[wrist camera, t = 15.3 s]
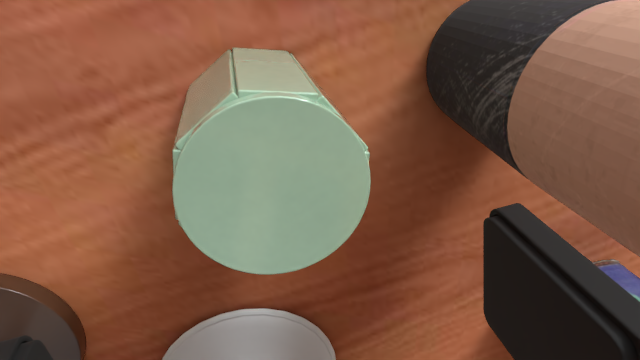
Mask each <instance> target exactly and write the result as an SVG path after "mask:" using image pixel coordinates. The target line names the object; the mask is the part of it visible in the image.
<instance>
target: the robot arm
mask: <svg viewBox="0 0 640 360" xmlns="http://www.w3.org/2000/svg"><path fill="white" fill-rule="evenodd" d="M484 314H485V317H486V320H487V322H488V324H489V326H490V327H491V329H492V330H493V331H494V333H495V334H496V335H497V337H498V338H499V339H500V341H501V342H502V343H503V345H504V346H505V348H506V349H507V350H508V352H509V353H510V354H511V356H512V357H513V358H514V360H640V302H639V301H638V300H637V299H636V298H634V297H633V296H632V295H631V294H630V293H628V292H627V291H626V290H625V289H624V288H622V287H621V286H620V285H619V284H618V283H616V282H615V281H614V280H613V279H611V278H610V277H609V276H608V275H607V274H605V273H604V272H603V271H602V270H601V269H599V268H598V267H597V266H596V265H594V264H593V263H592V262H591V261H590V260H588V259H587V258H586V257H584V256H583V255H582V254H581V253H580V252H578V251H577V250H576V249H575V248H574V247H572V246H571V245H570V244H569V243H568V242H566V241H565V240H564V239H563V238H561V237H560V236H559V235H558V234H557V233H555V232H554V231H553V230H552V229H551V228H549V227H548V226H547V225H546V224H545V223H543V222H542V221H541V220H540V219H538V218H537V217H536V216H535V215H534V214H532V213H531V212H530V211H529V210H528V209H526V208H525V207H524V206H523V205H521V204H518V203H516V204H512V205H508V206H505V207H501V208H497V209H494V210H492V211H491V213H490V217H489V218H486V219H485V220H484ZM0 360H53V358H52V357H51V355H50V353H49V352H48V350H47V349H46V347H45V345H44V344H43V343H42V342H41V341H40V340H33V339H32V338H31V337H29V336H27V335H23V336H19V337H16V338H12V339H8V340H4V341H1V342H0Z"/></svg>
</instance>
